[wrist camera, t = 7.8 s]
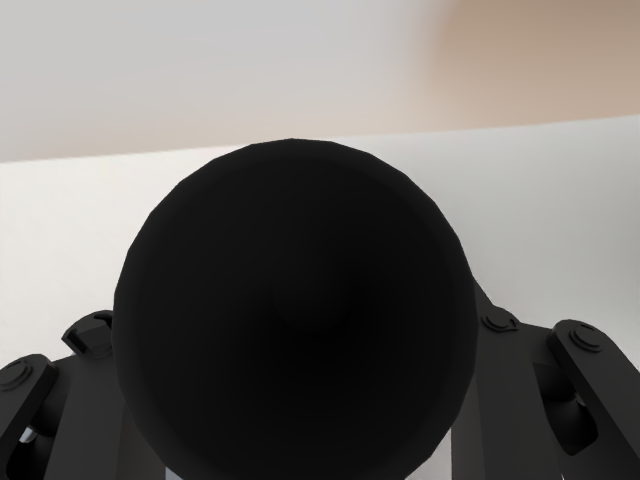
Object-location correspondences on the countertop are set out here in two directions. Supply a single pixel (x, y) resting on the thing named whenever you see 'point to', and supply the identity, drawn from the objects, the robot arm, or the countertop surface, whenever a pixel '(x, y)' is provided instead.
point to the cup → (295, 319)
